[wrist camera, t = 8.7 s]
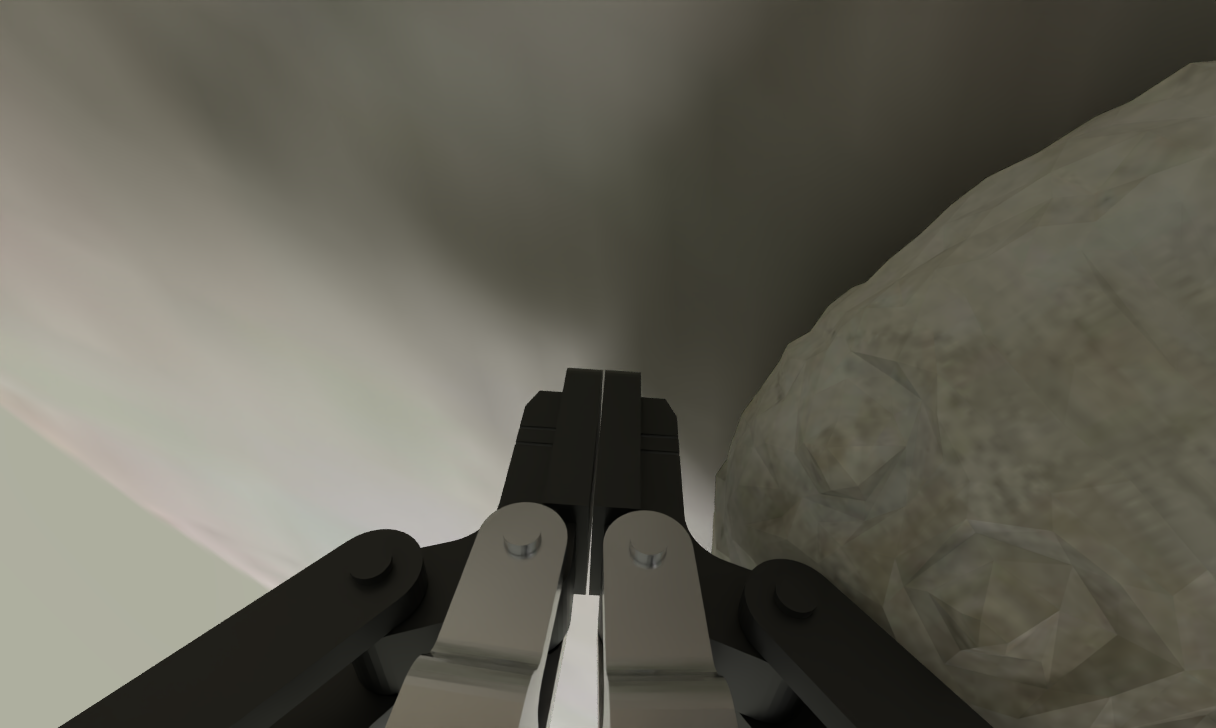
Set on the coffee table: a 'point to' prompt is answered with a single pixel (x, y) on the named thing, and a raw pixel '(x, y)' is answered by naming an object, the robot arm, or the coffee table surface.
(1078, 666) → the decorative shell
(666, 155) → the coffee table surface
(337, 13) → the coffee table surface
